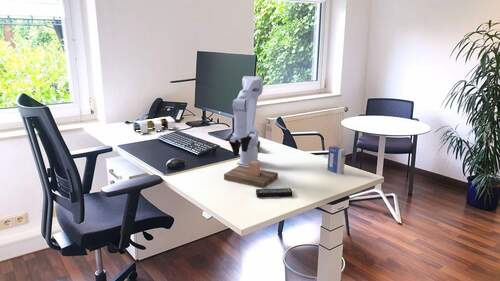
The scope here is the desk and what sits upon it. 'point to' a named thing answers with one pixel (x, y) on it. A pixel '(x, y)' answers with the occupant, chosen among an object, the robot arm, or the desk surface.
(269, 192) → the multiport hub
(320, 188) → the desk surface
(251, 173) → the pin
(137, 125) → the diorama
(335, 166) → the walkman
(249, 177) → the pin plate
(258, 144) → the handheld radio
